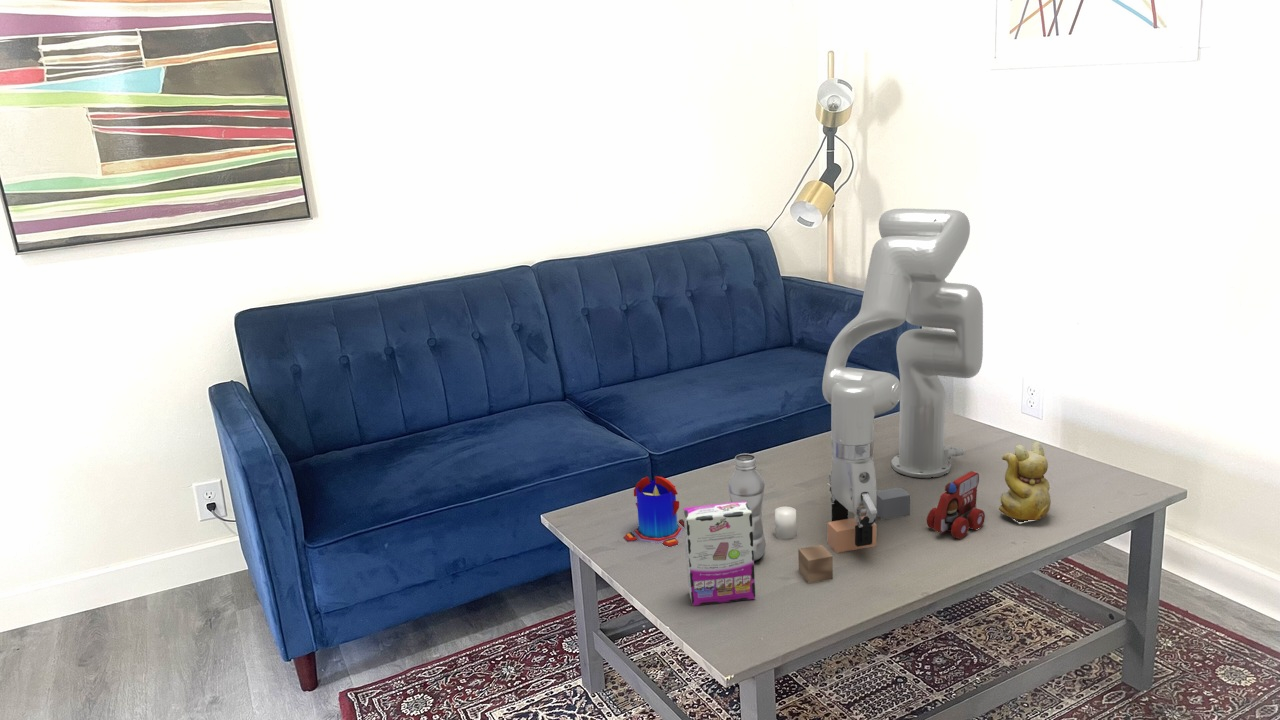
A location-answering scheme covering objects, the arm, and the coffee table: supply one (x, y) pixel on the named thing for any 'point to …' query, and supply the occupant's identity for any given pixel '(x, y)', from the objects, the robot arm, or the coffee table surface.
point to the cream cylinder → (785, 522)
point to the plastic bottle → (749, 496)
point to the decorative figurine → (1026, 484)
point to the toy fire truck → (958, 507)
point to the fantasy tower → (656, 512)
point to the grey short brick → (893, 503)
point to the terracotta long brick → (845, 535)
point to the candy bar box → (719, 553)
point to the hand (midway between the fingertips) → (851, 533)
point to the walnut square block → (815, 563)
